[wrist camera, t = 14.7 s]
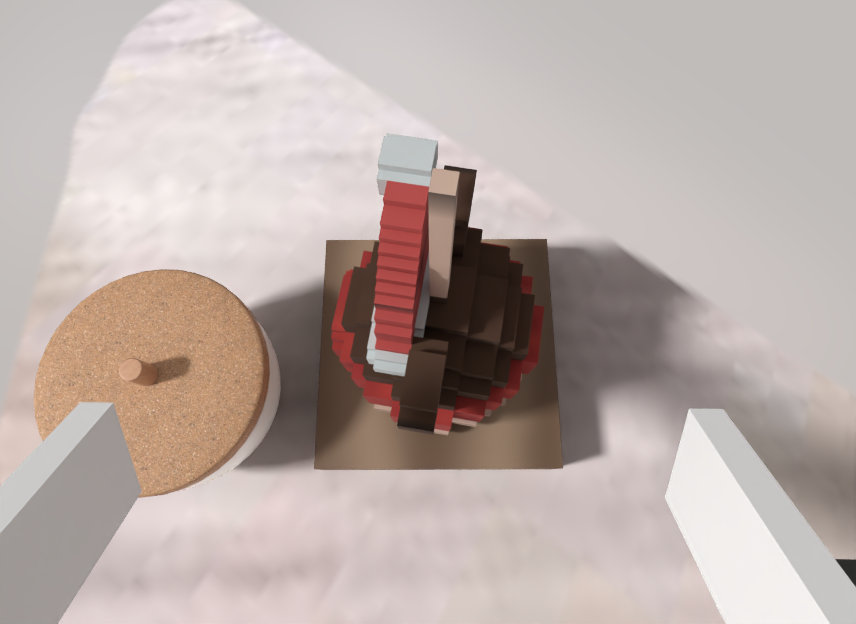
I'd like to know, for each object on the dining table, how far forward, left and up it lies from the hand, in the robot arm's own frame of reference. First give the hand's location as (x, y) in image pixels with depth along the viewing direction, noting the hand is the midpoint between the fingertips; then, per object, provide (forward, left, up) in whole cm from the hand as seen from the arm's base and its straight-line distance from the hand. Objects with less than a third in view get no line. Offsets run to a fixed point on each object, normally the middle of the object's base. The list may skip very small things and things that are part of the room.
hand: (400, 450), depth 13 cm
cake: (-1, -6, -17) cm, 18 cm away
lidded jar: (+12, -4, -20) cm, 24 cm away
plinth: (-1, -6, -20) cm, 21 cm away
